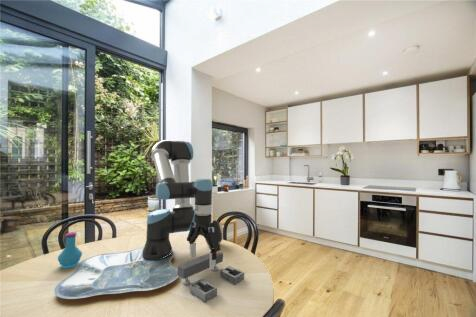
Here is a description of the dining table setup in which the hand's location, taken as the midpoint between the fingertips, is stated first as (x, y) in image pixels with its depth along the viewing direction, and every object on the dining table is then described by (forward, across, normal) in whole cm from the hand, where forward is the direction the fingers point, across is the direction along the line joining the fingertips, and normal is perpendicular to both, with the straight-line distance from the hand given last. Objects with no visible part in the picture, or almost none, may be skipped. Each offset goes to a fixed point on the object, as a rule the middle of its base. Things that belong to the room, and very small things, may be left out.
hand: (202, 262), depth 97 cm
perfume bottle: (+6, -54, -37) cm, 65 cm away
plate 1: (+7, +10, -8) cm, 15 cm away
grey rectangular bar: (+6, -1, 0) cm, 6 cm away
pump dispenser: (+6, -24, +28) cm, 37 cm away
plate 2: (+7, +10, +8) cm, 15 cm away
